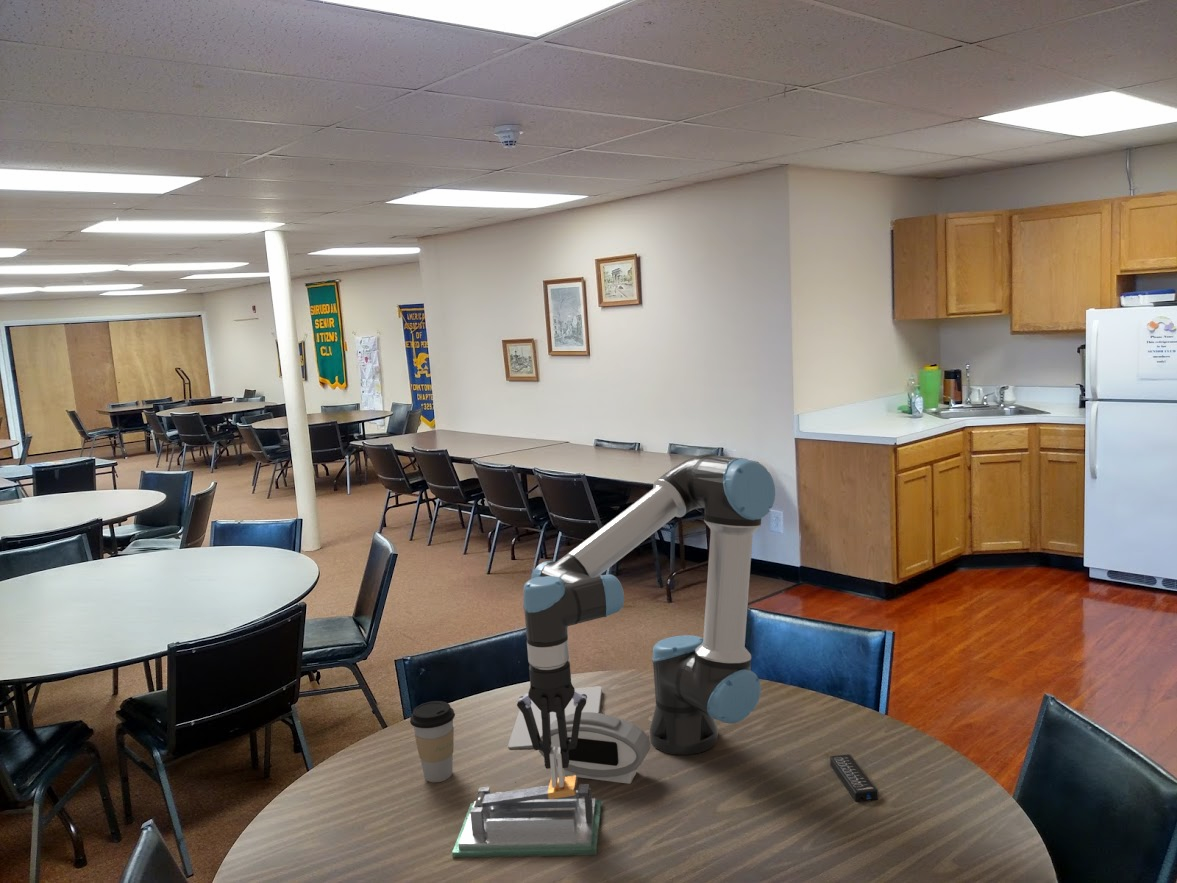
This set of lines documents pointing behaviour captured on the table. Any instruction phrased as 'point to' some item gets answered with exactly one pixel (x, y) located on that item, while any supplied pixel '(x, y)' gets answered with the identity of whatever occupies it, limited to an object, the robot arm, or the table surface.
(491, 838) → the heatsink
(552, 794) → the orange tipped grey lever
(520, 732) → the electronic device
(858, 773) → the multiport hub
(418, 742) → the coffee cup
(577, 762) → the alarm clock
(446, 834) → the table surface
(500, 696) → the table surface
